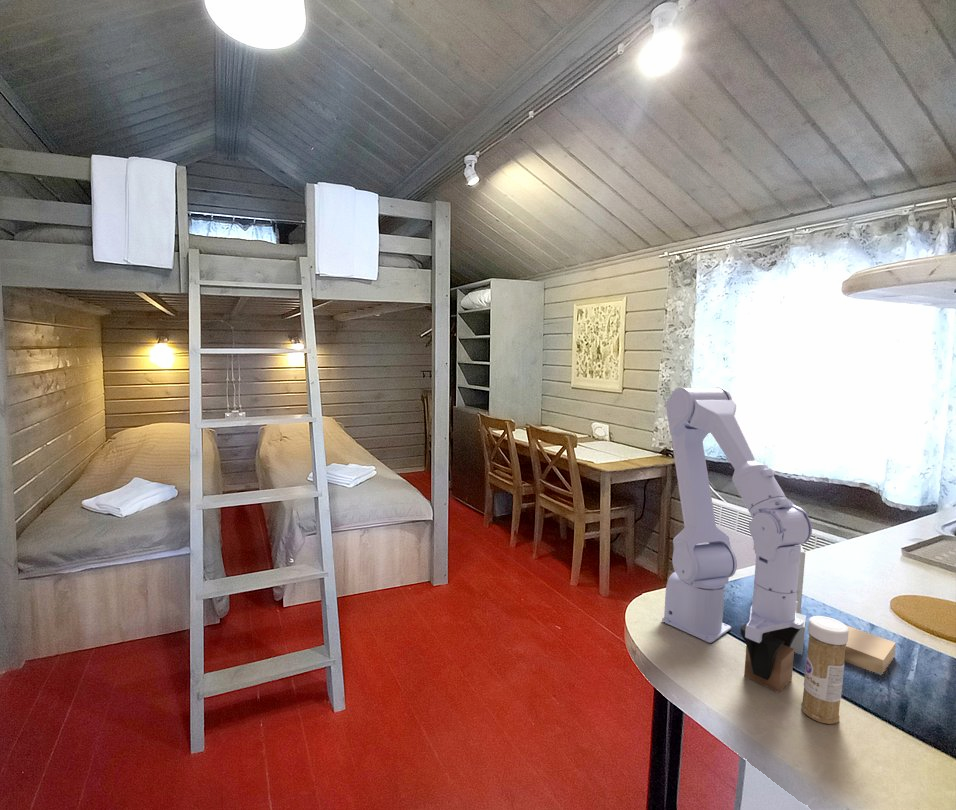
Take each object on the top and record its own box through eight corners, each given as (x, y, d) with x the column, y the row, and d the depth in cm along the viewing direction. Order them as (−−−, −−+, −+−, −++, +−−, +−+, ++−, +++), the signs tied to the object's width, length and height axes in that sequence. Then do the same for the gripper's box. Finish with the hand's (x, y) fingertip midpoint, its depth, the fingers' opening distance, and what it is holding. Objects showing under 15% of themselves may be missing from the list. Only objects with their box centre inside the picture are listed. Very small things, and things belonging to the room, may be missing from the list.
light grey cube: (768, 645, 89) (770, 618, 89) (771, 633, 93) (773, 606, 93) (802, 655, 86) (804, 627, 86) (803, 642, 90) (806, 615, 90)
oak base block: (823, 654, 87) (824, 638, 87) (838, 638, 92) (839, 622, 92) (881, 678, 81) (883, 660, 81) (894, 659, 86) (895, 642, 86)
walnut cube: (744, 676, 80) (746, 645, 80) (757, 664, 83) (760, 634, 83) (778, 692, 76) (781, 660, 76) (791, 679, 80) (794, 648, 79)
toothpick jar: (793, 704, 74) (801, 614, 73) (822, 702, 74) (831, 613, 73) (817, 727, 69) (826, 632, 68) (848, 725, 70) (857, 631, 69)
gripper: (785, 609, 71) (777, 702, 72) (821, 581, 80) (814, 664, 81) (733, 590, 76) (727, 677, 78) (773, 566, 85) (766, 644, 87)
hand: (768, 669), depth 80 cm, fingers closed on walnut cube, 5 cm apart
